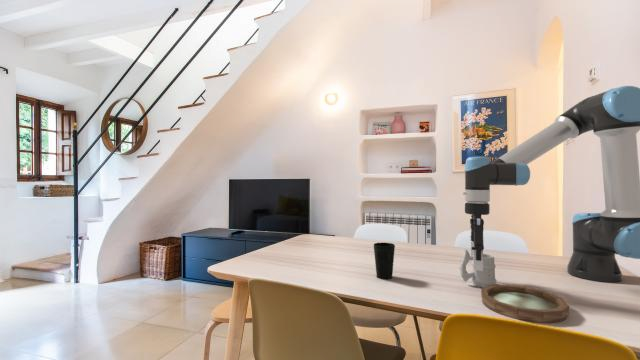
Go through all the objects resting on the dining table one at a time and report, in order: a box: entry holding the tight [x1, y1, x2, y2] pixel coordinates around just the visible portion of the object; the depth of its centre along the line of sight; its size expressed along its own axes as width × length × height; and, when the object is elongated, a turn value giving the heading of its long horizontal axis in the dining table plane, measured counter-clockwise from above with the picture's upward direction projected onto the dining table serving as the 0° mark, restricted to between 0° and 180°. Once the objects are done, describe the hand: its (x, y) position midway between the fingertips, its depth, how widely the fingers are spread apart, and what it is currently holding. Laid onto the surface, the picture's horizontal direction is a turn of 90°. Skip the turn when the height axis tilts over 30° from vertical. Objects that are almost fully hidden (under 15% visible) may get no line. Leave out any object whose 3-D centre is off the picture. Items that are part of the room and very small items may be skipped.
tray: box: [480, 284, 570, 324], centre depth 88 cm, size 20×20×3 cm
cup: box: [373, 242, 396, 280], centre depth 116 cm, size 8×8×12 cm
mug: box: [459, 249, 498, 289], centre depth 107 cm, size 8×12×12 cm, turn 90°
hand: (476, 265), depth 107 cm, fingers open, 13 cm apart
